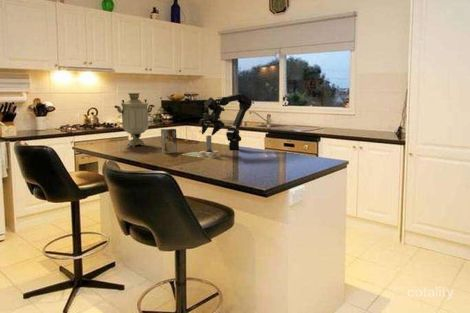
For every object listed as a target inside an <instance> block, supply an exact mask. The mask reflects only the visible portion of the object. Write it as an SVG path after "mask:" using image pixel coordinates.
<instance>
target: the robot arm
mask: <svg viewBox="0 0 470 313" xmlns="http://www.w3.org/2000/svg"><path fill="white" fill-rule="evenodd" d="M235 101H237V102H238V103H239V105H238V106H239V108H238V112H237V113H236V114H237V115H236V116H235V119H234V121H233V123H232V126H229V127H227V130H226V134H225V135H226V136H225V137H226V140H227V141H229V143H228V148H229V150H230V151H239V150H240V142H241V141H242V137H241V135H240V126H241V124H242V122H243V120H244V117H245V115H246V113H247V111H248V110H249V109H250V108H251V107H252V104H253V102H252V101H253V100H252V99H250V98H249V96H247V95H244V93H242V92H238V93H237V92H236V93H235V94H231V95H228V96H218V97H216V99H214V98H213V97H209V98H208V99H207V100H205V101H204V106H205V107H206V108H208V109H209V110H210V111H211V112H208V113H207V112H203V114H202V118H200V120H199V124H200V125H201V135H204V134H205V133H206V131H207V130H208V128H209V127H210V125H212V126H213V129H212V132H211V135H210V136H211V137H212V136H214V135H215V134H216V133H217V132H219V131H220V130H222V129H224V128H225V126H226V125H225V123H224V122H223V121H222V120H221V114H222V112H225V106H227V105H228V104H229V103H231V102H235Z"/></svg>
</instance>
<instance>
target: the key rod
mask: <svg viewBox="0 0 470 313" xmlns="http://www.w3.org/2000/svg"><path fill="white" fill-rule="evenodd" d="M205 140H206V142H205V143H206V150H207V152H212V150H213V149H212V145H213V144H212V135H209V134H208V135H206V136H205Z"/></svg>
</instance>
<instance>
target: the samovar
mask: <svg viewBox="0 0 470 313" xmlns="http://www.w3.org/2000/svg"><path fill="white" fill-rule="evenodd" d="M127 94H128V95H129V98H130V99H129V100H127V101H125V99H122V100H121V102H120V104H121V106H120V105H114V106H113V107H114V108H115V109H116V110H117V112H118V113H119V114H121V121H122V129H123V130H124V132H126V133H128V134H130V135H131V138H132V139H131V140H129V142H128V143H127V145H128V146H129V145H131V148H135V146H137V145H143V146H146V147H147V145H146V144H145V143H144V141H143V140H142V139H141V136H142V134H144V133H145V132H146V131H147V130H148V129H149V124H150V123H149V113H152V111H153V108H155V107H156V106H155V105H154V104H149V103H148V102H147V101H148V100H147V99H146V98H145V99H144V101H142V100H140V99H139V98H140V94H141V93H140V92H130V93H127ZM121 107H122V108H121ZM127 145H126V146H127Z"/></svg>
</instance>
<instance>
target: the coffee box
mask: <svg viewBox="0 0 470 313" xmlns="http://www.w3.org/2000/svg"><path fill="white" fill-rule="evenodd" d="M160 134H161V136H160V137H161V153H163V154H171V153H172V154H173V153H178V142H177V141H178V138H177V129H176V128H163V129H160Z"/></svg>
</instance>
